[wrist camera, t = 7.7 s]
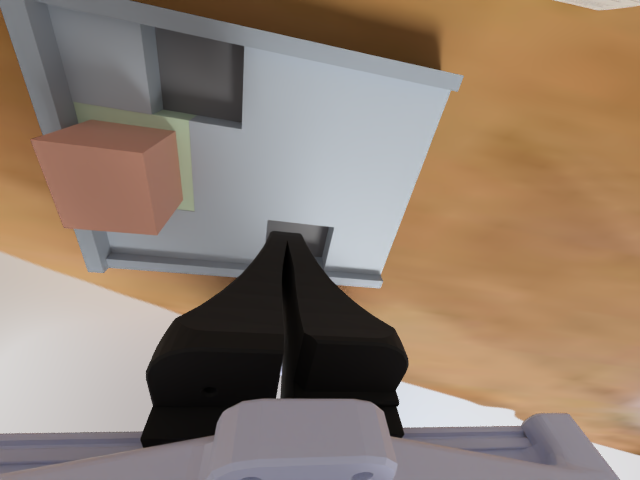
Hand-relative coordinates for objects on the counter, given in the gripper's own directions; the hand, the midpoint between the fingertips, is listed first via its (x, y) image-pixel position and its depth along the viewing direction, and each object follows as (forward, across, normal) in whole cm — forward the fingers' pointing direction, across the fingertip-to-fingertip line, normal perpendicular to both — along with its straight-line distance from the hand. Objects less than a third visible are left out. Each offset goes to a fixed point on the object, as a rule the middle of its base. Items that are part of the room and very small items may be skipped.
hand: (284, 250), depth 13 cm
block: (+8, +9, 0) cm, 12 cm away
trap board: (+10, +2, 0) cm, 10 cm away
